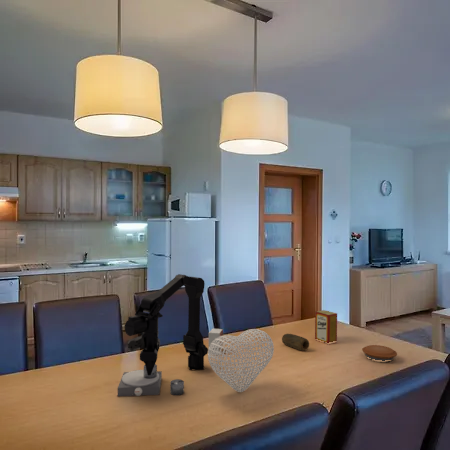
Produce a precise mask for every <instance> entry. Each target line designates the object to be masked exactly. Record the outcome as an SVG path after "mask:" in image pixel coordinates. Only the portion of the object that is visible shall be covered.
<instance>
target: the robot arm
mask: <svg viewBox="0 0 450 450" xmlns="http://www.w3.org/2000/svg"><path fill="white" fill-rule="evenodd" d="M205 285H206V284H205V280H204V279H203V278H202V277H197V276H190V275H189V276H188V275H186V274H181V273H180V274H179V273H178V274H176V275H175V277H174V278H172V279H171V280H170V281H169V282H168V283H166V284H165V285H164V286H163V287H161V288H160V289H159V290H158V291H156V292H154V293H153V292H152V293H151V294H148V295H147V296H144V297H143V298H142V299H141V302H140V304H139V306H138V308H137V309H136V312H135V314H134V315H133V316H128V318H127V320H126V321H125V323H124V330H125V331H124V332H125V334H126V335H127V336H129V337H131V336H135V335H139V336H137V337H134V338H131V339H129V340H127V341H128V342H127V348H128V349H129V352H132V351H134V350H136V349H140V348H141V351H140V353H139V360H140V361H141V362H143V363H144V365H145V366H146V370H147V374H148V375H151V373H152V370H153V368H154V365H155V364H156V363H157V360H158V356H159V355H158V354H159V353H158V352H159V351H160V346H161V339H160V338H159V318H162V317H163V314H162V313H161V312H160V311H161V310H162V309H163V307H164V306H165V305H166V304H165V303H166V302H167V300H168V299H170V297H172V296H173V295H174V294H175V293H176V292H178V291H179V290H180V289H181V288H182V287H184V290H185V293H186V296H187V297H188V312H187V313H188V319H187V321H188V323H187V324H188V325H187V328H188V329H187V332H186V333H185V334H183V335H182V340H183V342H182V345H183V348H184V349H185V352H186V353H188V354H189V355H188V356H187V368H188V370H189V371H192V370H194V371H195V370H199V371H202V370H205V356H206V355H208V349H209V347H207V345H206V344H204V337H203V334H202V333H201V330H200V328H201V326H200V324H201V323H200V322H201V321H200V320H201V319H200V317H201V298H202V295H203V293H204V292H205ZM140 334H141V335H140Z"/></svg>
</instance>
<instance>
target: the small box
mask: <svg viewBox="0 0 450 450" xmlns="http://www.w3.org/2000/svg"><path fill="white" fill-rule="evenodd" d="M223 333H224V329H221V328H211V330H210V331H209V332H208V347H209V346H210V344H211V343H212V341H213V340H214V339H216V338H218V337H219V336H224V334H223ZM215 342H216V341H215ZM215 342H214V343H215ZM218 342H219V341H217V343H218ZM220 343H221V341H220ZM219 345H220V344H219ZM221 345H222V344H221ZM221 345H220V346H221ZM223 345H224V344H223ZM223 345H222V346H223ZM214 347H215V346H214ZM217 347H218V346H217ZM223 347H224V346H223ZM214 349H215V348H213V350H214ZM220 349H221V348H219V349H218V352H220ZM223 350H224V349H223V348H222V350H221V352H223ZM215 351H217V348H216V350H215ZM209 352H210V350H209ZM210 354H211V353H210ZM215 354H216V352H215ZM218 355H219V353H218ZM219 356H220V355H219Z"/></svg>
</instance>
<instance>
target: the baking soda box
mask: <svg viewBox="0 0 450 450" xmlns="http://www.w3.org/2000/svg"><path fill="white" fill-rule="evenodd" d="M314 316H315V321H314V324H315V326H314V328H315V329H314V340H315V339H318V340H321V341H324V342H327V343H329V342H333V341H337V340H338V313H337V312H333V311H330V310H326V309H323V310H316V311H315V315H314ZM337 342H338V341H337Z"/></svg>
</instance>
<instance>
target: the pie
mask: <svg viewBox="0 0 450 450" xmlns="http://www.w3.org/2000/svg"><path fill="white" fill-rule="evenodd" d="M361 351H362V352H363V353H364V355H365V357H366V356H367V357H369V358H371V359H375V360H382V361H385V360H392V359H394V358H395V357H396V356H397V355H398V352H397V351H396V350H394V349H393V348H391V347H388V346H385V345H377V344H375V345H374V344H370V345H366V346H364V347H363V348H362V349H361ZM367 357H366V358H367ZM392 361H393V360H392Z"/></svg>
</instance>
